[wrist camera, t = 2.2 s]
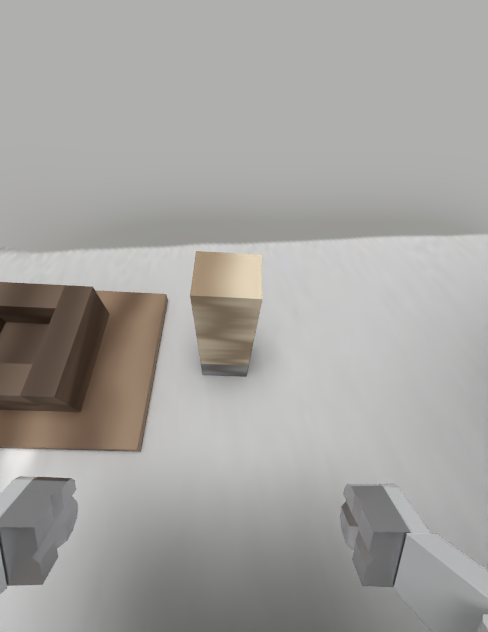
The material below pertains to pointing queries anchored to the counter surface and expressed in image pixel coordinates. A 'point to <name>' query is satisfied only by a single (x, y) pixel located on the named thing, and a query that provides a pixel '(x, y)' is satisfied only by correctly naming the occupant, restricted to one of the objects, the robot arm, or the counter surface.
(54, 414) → the square hole base plate
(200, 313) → the upright wooden square peg
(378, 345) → the counter surface
